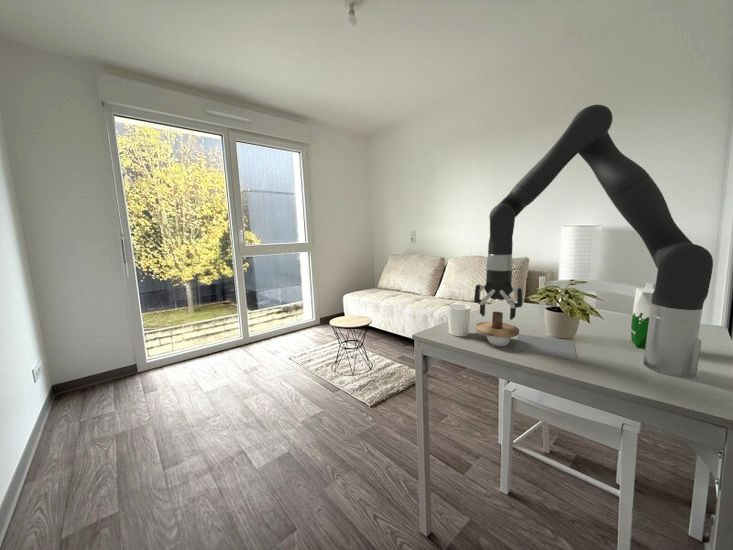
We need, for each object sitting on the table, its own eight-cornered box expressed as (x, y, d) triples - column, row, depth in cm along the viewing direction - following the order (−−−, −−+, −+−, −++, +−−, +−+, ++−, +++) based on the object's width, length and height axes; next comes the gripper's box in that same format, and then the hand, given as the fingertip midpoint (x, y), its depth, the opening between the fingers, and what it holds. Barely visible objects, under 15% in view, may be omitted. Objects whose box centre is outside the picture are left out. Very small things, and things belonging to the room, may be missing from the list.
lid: (520, 327, 100) (521, 310, 100) (517, 340, 89) (518, 320, 88) (479, 322, 107) (480, 306, 106) (472, 333, 96) (472, 315, 95)
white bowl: (521, 347, 96) (522, 333, 95) (501, 354, 91) (502, 339, 90) (494, 338, 104) (495, 325, 104) (475, 343, 100) (475, 330, 99)
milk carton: (673, 354, 89) (682, 287, 86) (633, 348, 93) (640, 285, 90) (663, 344, 96) (671, 283, 93) (626, 339, 101) (633, 280, 98)
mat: (573, 343, 97) (573, 342, 97) (577, 362, 84) (577, 360, 84) (518, 335, 106) (518, 333, 106) (513, 351, 92) (513, 349, 92)
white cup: (444, 335, 107) (445, 308, 106) (449, 328, 114) (450, 303, 113) (467, 338, 103) (468, 310, 102) (471, 331, 110) (472, 305, 109)
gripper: (525, 268, 95) (522, 317, 98) (478, 266, 103) (476, 312, 105) (523, 270, 89) (520, 323, 91) (473, 268, 96) (471, 317, 99)
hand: (496, 317), depth 98 cm, fingers open, 8 cm apart
